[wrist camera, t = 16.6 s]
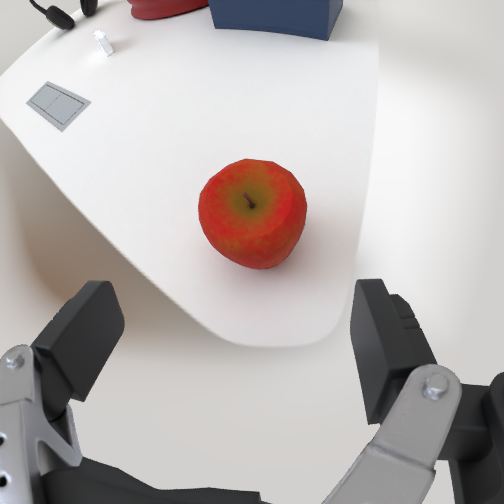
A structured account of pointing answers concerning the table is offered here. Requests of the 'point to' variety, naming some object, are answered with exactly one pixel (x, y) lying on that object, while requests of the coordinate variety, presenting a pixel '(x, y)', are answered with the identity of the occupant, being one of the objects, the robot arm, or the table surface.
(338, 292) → the table surface
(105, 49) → the eraser
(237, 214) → the apple
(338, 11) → the box
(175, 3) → the table lamp
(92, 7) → the headphones
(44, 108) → the table surface
